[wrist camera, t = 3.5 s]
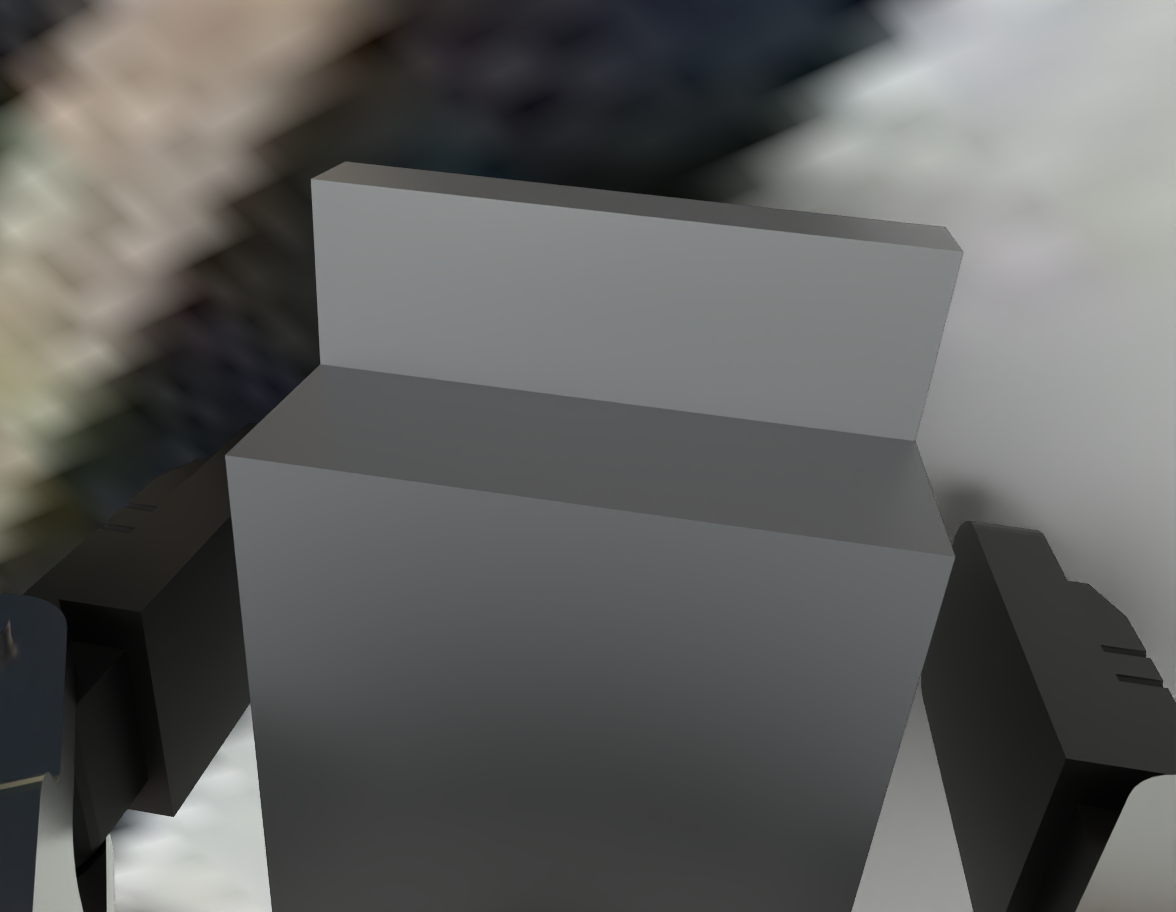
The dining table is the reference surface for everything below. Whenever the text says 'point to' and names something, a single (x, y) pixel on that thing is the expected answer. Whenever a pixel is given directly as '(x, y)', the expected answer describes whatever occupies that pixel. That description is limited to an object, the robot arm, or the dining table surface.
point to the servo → (589, 550)
